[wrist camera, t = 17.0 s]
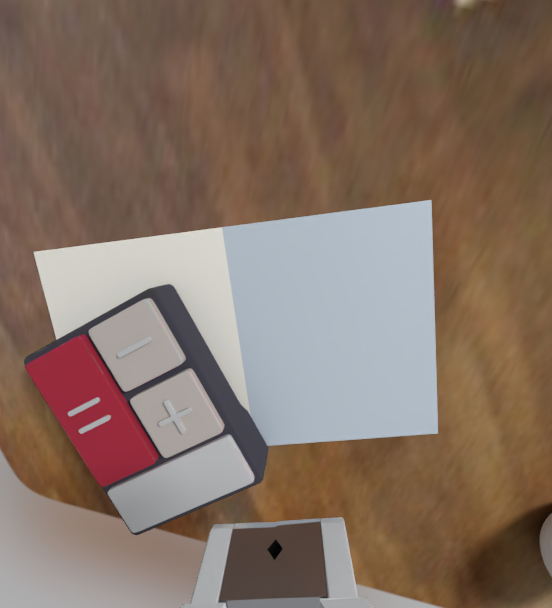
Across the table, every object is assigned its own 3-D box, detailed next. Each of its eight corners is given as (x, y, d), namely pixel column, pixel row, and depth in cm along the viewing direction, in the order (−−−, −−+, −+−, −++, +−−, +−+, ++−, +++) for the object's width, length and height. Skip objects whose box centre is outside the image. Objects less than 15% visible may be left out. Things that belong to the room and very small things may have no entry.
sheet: (35, 251, 24) (33, 252, 23) (430, 200, 21) (431, 200, 21) (89, 457, 27) (88, 458, 27) (436, 431, 24) (438, 433, 24)
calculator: (147, 286, 19) (264, 490, 21) (175, 280, 24) (270, 450, 25) (9, 363, 21) (127, 547, 23) (59, 345, 25) (155, 501, 27)
